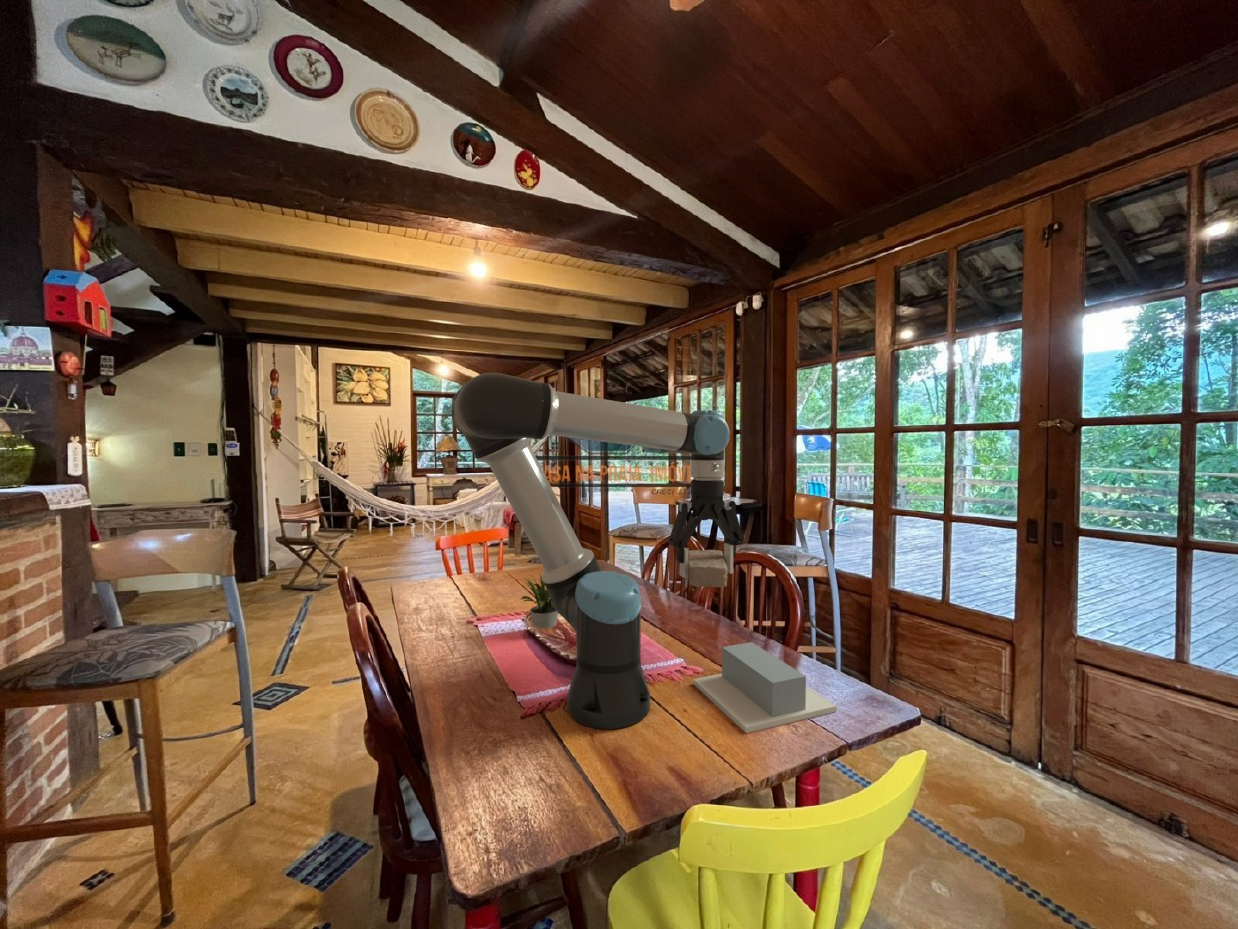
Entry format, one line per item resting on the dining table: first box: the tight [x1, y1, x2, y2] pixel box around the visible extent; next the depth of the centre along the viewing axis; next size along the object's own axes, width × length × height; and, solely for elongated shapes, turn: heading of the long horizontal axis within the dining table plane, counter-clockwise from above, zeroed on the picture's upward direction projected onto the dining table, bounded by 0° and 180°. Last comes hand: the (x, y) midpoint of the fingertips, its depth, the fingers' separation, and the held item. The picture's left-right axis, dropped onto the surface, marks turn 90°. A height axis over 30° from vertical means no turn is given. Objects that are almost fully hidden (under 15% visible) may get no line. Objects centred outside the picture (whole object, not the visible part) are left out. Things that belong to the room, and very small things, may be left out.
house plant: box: [517, 573, 559, 629], centre depth 124 cm, size 14×14×16 cm
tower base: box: [692, 641, 838, 734], centre depth 94 cm, size 19×18×7 cm
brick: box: [688, 549, 729, 588], centre depth 114 cm, size 17×8×5 cm, turn 173°
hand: (706, 574), depth 114 cm, fingers closed on brick, 11 cm apart
